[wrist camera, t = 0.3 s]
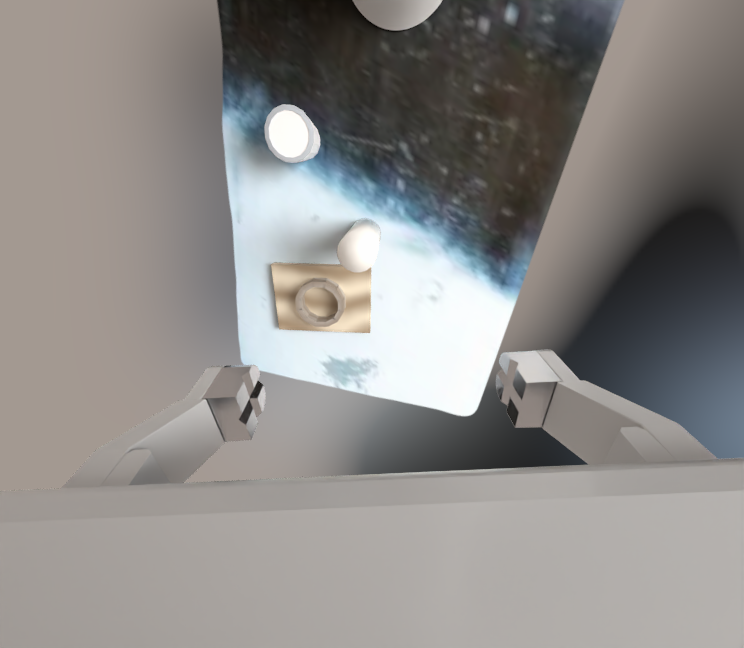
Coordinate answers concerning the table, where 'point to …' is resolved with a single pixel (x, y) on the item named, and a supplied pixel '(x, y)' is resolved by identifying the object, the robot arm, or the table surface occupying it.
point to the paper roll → (359, 246)
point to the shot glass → (291, 134)
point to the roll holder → (322, 297)
